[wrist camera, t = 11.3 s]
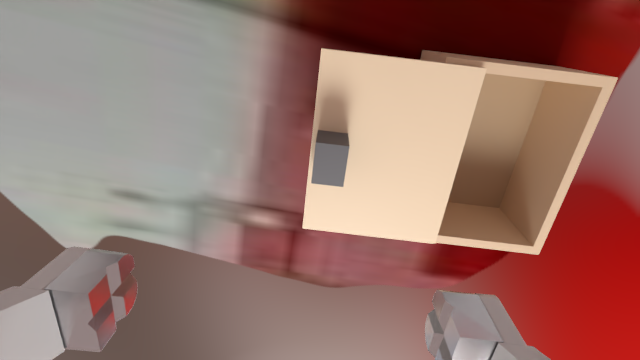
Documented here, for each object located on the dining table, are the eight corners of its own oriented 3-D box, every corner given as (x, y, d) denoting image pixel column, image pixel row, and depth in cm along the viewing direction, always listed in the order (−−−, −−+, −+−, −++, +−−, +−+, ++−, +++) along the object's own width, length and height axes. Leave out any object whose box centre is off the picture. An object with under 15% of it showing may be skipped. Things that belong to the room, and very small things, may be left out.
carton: (422, 49, 41) (446, 56, 32) (556, 65, 41) (618, 77, 32) (389, 199, 49) (401, 238, 40) (501, 212, 50) (538, 254, 40)
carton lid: (321, 47, 32) (319, 51, 28) (483, 67, 32) (506, 74, 28) (303, 224, 40) (298, 249, 35) (433, 239, 40) (445, 266, 36)
